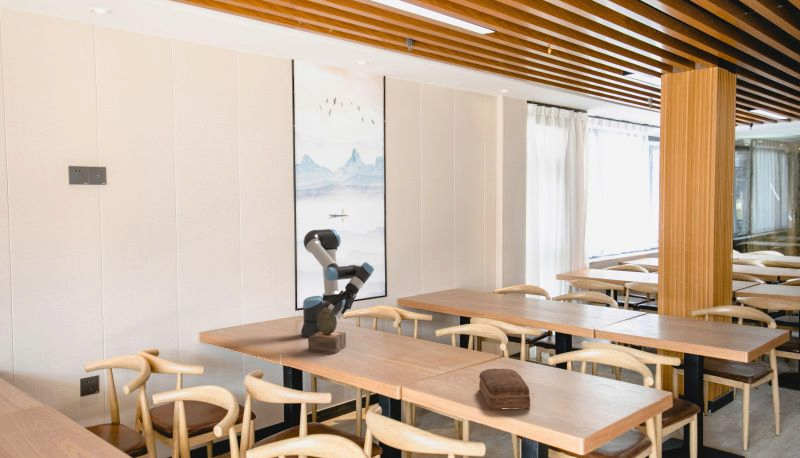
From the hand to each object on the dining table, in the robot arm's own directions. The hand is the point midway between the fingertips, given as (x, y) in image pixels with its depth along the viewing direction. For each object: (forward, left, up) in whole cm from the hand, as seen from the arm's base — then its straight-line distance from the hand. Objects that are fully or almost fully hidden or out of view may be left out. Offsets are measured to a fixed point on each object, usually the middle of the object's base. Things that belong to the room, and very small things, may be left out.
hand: (331, 316), depth 354 cm
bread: (+70, +101, -19) cm, 124 cm away
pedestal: (+2, -2, -19) cm, 19 cm away
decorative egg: (+1, -2, -10) cm, 11 cm away
